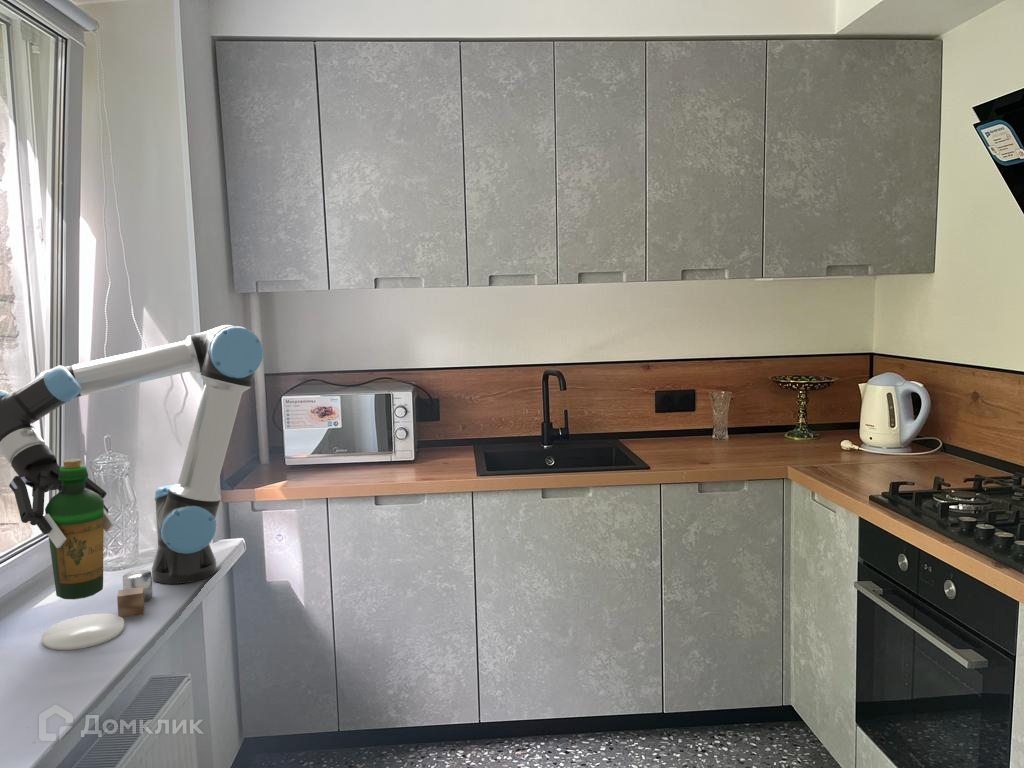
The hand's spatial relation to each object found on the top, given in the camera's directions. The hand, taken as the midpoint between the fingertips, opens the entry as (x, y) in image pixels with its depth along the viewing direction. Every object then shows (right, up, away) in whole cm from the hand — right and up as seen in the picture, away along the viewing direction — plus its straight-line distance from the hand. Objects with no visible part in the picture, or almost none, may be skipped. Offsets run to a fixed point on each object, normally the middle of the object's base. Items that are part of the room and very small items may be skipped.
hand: (87, 535), depth 158 cm
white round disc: (-3, -21, +4) cm, 22 cm away
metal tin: (0, -19, +22) cm, 29 cm away
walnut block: (+2, -20, +14) cm, 25 cm away
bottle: (-3, -13, +3) cm, 13 cm away
